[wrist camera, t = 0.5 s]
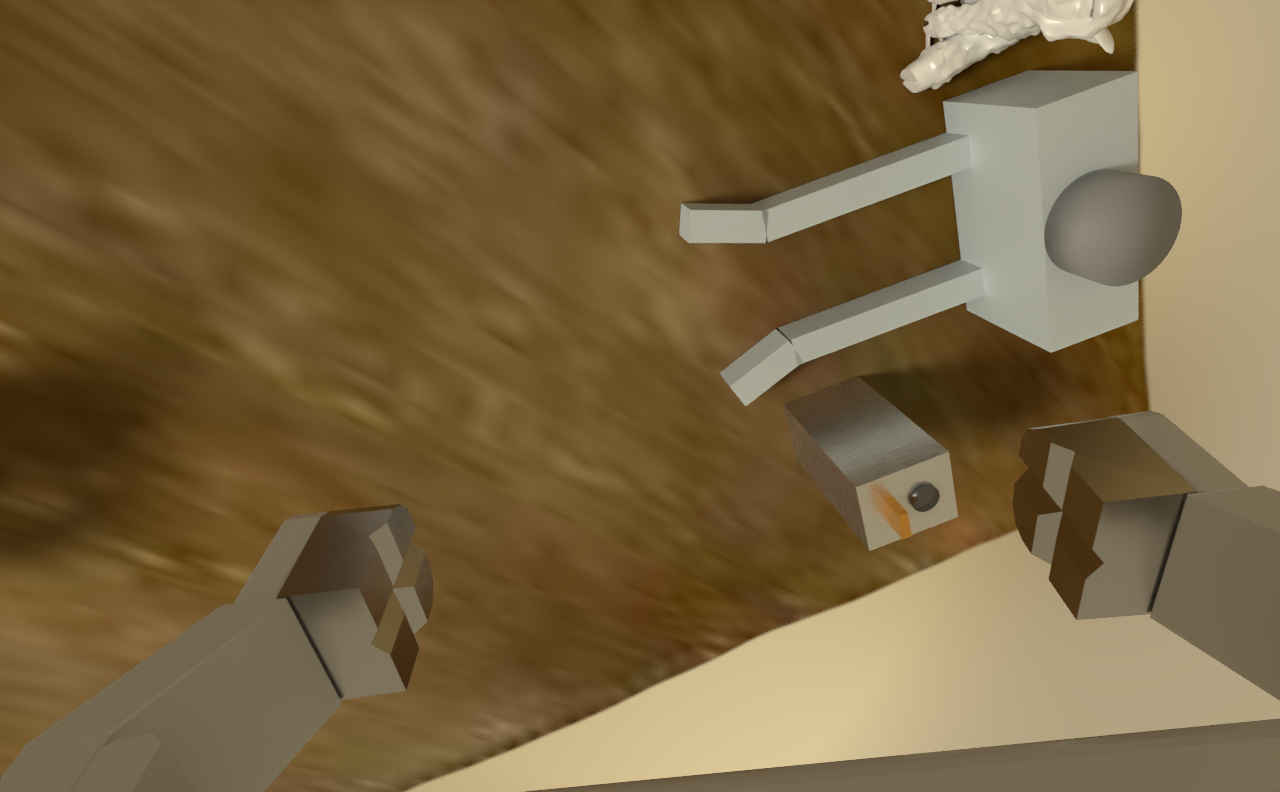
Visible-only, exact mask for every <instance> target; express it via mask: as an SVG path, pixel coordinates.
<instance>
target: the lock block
mask: <svg viewBox="0 0 1280 792" xmlns="http://www.w3.org/2000/svg"><path fill="white" fill-rule="evenodd" d="M783 407H784V410H785V414H786V418H787V422H788V426H789V430H790V434H791V438H792V442H793V446H794V450H795V454H796V458H797V460H798V461H799V462H800V464H801V465H802V466H803V468H804V469H805V470H806V471H807V473H808V474H809V475H810V476H811V478H812V479H813V480H814V481H815V483H816V484H817V485H818V487H819V488H820V489H821V490H822V492H823V493H824V494H825V495H826V497H827V498H828V499H829V500H830V502H831V503H832V504H833V506H834V507H835V508H836V509H837V511H838V512H839V513H840V514H841V516H842V517H843V518H844V519H845V521H846V522H847V523H848V525H849V526H850V527H851V528H852V530H853V531H854V532H855V533H856V535H857V536H858V537H859V538H860V540H861V541H862V542H863V544H864V545H865V546H866V547H867V549H868V550H869V551H871V550H873V549H876V548H878V547H881V546H884V545H886V544H889V543H891V542H894V541H897V540H899V539H905V538H908V537H910V536H912V534H915V533H917V532H920V531H922V530H925V529H928V528H930V527H933V526H935V525H938V524H940V523H943V522H946V521H948V520H951V519H953V518H956V517H958V514H957V507H956V499H955V492H954V485H953V478H952V471H951V464H950V457H949V452H948V451H947V450H946V449H945V448H944V447H942V446H941V445H940V444H939V443H938V442H936V441H935V440H934V439H933V438H932V437H930V436H929V435H928V434H927V433H926V432H924V431H923V430H922V429H921V428H920V427H918V426H917V425H916V424H915V423H914V422H912V421H911V420H910V419H909V418H908V417H907V416H905V415H904V414H903V413H902V412H901V411H899V410H898V409H897V408H896V407H895V406H893V405H892V404H891V403H890V402H889V401H887V400H886V399H885V398H884V397H883V396H881V395H880V394H879V393H878V392H877V391H875V390H874V389H873V388H872V387H871V386H869V385H868V384H867V383H866V382H865V381H863V380H862V379H861V378H860V377H859V376H857V377H854V378H851V379H849V380H846V381H843V382H841V383H838V384H836V385H833V386H830V387H828V388H825V389H822V390H820V391H817V392H814V393H812V394H809V395H806V396H804V397H801V398H798V399H796V400H793V401H790V402H788V403H785V404H783Z"/></svg>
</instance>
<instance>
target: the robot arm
mask: <svg viewBox="0 0 1280 792" xmlns="http://www.w3.org/2000/svg"><path fill="white" fill-rule="evenodd" d="M1019 456H1020V458H1021V459H1022V460H1023V461H1024V463H1025V464H1026V465H1027V467H1028V470H1027V471H1026V472H1025V473H1024V474H1023V475H1022V476H1021V477H1020V478H1019V479H1018V480H1017V481H1016V482H1015V485H1014V495H1013V510H1014V516H1015V522H1016V526H1017V528H1018V531H1019V533H1020V535H1021V538H1022V540H1023V542H1024V543H1025V545H1026V546H1027V548H1028V549H1029V551H1030V552H1031V554H1033V555H1035V556H1036V557H1038V558H1040V559H1042V560H1044V561H1046V562H1048V563H1049V564H1051V570H1050V575H1049V581H1050V582H1051V583H1052V585H1053V586H1054V588H1055V589H1056V591H1057V592H1058V594H1059V595H1060V597H1061V598H1062V599H1063V601H1064V602H1065V604H1066V605H1067V607H1068V608H1069V610H1070V611H1071V613H1072V614H1073V615H1074V617H1075V618H1076V620H1081V619H1093V618H1106V617H1117V616H1131V615H1142V614H1151V616H1150V617H1151V618H1152V619H1154V620H1155V621H1157V622H1158V623H1160V624H1162V625H1163V626H1165V627H1166V628H1168V629H1169V630H1171V631H1172V632H1174V633H1175V634H1177V635H1179V636H1180V637H1182V638H1183V639H1185V640H1187V641H1188V642H1189V643H1191V644H1193V645H1194V646H1196V647H1197V648H1199V649H1200V650H1202V651H1203V652H1205V653H1207V654H1208V655H1210V656H1211V657H1213V658H1214V659H1216V660H1218V661H1219V662H1221V663H1222V664H1224V665H1225V666H1227V667H1228V668H1230V669H1231V670H1233V671H1235V672H1236V673H1238V674H1239V675H1241V676H1242V677H1244V678H1245V679H1247V680H1249V681H1250V682H1252V683H1253V684H1255V685H1257V686H1258V687H1260V688H1261V689H1263V690H1264V691H1266V692H1267V693H1269V694H1271V695H1272V696H1273V697H1275V698H1277V699H1278V700H1280V492H1279V491H1277V490H1274V489H1271V488H1268V487H1265V486H1256V487H1248V486H1247V485H1246V484H1245V483H1243V482H1242V481H1241V480H1240V479H1239V478H1237V477H1236V476H1235V475H1234V474H1233V473H1232V472H1230V471H1229V470H1228V469H1227V468H1226V467H1224V466H1223V465H1222V464H1221V463H1220V462H1219V461H1217V460H1216V459H1215V458H1214V457H1213V456H1211V455H1210V454H1209V453H1208V452H1207V451H1206V450H1204V449H1203V448H1202V447H1201V446H1200V445H1198V444H1197V443H1196V442H1195V441H1194V440H1192V439H1191V438H1190V437H1189V436H1188V435H1186V434H1185V433H1184V432H1183V431H1182V430H1181V429H1179V428H1178V427H1177V426H1176V425H1175V424H1173V423H1172V422H1171V421H1170V420H1169V419H1168V418H1166V417H1165V416H1164V415H1162V414H1160V413H1156V412H1153V411H1146V412H1139V413H1133V414H1126V415H1119V416H1113V417H1109V418H1108V419H1100V420H1092V421H1084V422H1077V423H1069V424H1061V425H1053V426H1045V427H1037V428H1029V429H1027V430H1026V432H1025V434H1024V436H1023V438H1022V440H1021V446H1020V452H1019ZM415 528H416V527H415V525H414V523H413V520H412V518H411V516H410V513H409V511H408V509H407V508H405V507H403V506H402V505H400V504H398V505H388V506H377V507H367V508H357V509H347V510H337V511H330V512H320V513H311V514H303V515H294V516H292V517H290V518H288V519H286V520H285V521H284V522H283V524H282V525H281V527H280V529H279V530H278V532H277V534H276V535H275V537H274V538H273V540H272V542H271V543H270V545H269V546H268V548H267V550H266V551H265V553H264V555H263V556H262V558H261V559H260V561H259V563H258V564H257V566H256V568H255V569H254V571H253V572H252V574H251V576H250V577H249V579H248V580H247V582H246V584H245V585H244V587H243V589H242V590H241V592H240V593H239V595H238V597H237V598H236V600H235V601H234V603H233V604H229V605H221V606H220V607H218V608H217V609H215V610H214V611H213V612H211V613H210V614H208V615H207V616H206V617H204V618H203V619H201V620H200V621H199V622H197V623H196V624H194V625H193V626H192V627H190V628H189V629H187V630H186V631H185V632H183V633H182V634H180V635H179V636H178V637H176V638H175V639H173V640H172V641H170V642H169V643H168V644H166V645H165V646H163V647H162V648H161V649H159V650H158V651H156V652H155V653H154V654H152V655H151V656H149V657H148V658H147V659H145V660H144V661H142V662H141V663H140V664H138V665H137V666H135V667H134V668H132V669H131V670H130V671H128V672H127V673H125V674H124V675H123V676H121V677H120V678H118V679H117V680H116V681H114V682H113V683H111V684H110V685H109V686H107V687H106V688H104V689H103V690H102V691H100V692H99V693H97V694H96V695H95V696H93V697H92V698H90V699H89V700H87V701H86V702H85V703H83V704H82V705H80V706H79V707H78V708H76V709H75V710H73V711H72V712H71V713H69V714H68V715H66V716H65V717H64V718H62V719H61V720H59V721H58V722H57V723H55V724H54V725H52V726H51V727H50V728H48V729H47V730H45V731H44V732H42V733H41V734H40V735H38V736H37V737H35V738H34V739H33V740H31V741H30V742H28V743H27V744H26V746H25V747H24V748H23V749H22V751H21V752H20V753H19V755H18V756H17V757H16V759H15V760H14V761H13V762H12V764H11V765H10V766H9V768H8V769H7V770H6V772H5V773H4V774H3V775H2V777H1V778H0V792H264V791H265V790H266V789H267V788H268V786H269V785H270V784H271V783H272V782H273V781H274V780H275V779H276V777H277V776H278V775H279V774H280V773H281V772H282V771H283V769H284V768H285V767H286V766H287V765H288V764H289V763H290V762H291V760H292V759H293V758H294V757H295V756H296V755H297V754H298V753H299V751H300V750H301V749H302V748H303V747H304V746H305V745H306V743H307V742H308V741H309V740H310V739H311V738H312V737H313V736H314V734H315V733H316V732H317V731H318V730H319V729H320V728H321V726H322V725H323V724H324V723H325V722H326V721H327V720H328V719H329V717H330V716H331V715H332V714H333V713H334V712H335V711H336V709H337V708H338V707H339V706H340V705H341V704H342V701H341V700H342V699H350V698H357V697H365V696H372V695H379V694H387V693H394V692H402V691H406V690H407V687H408V684H409V681H410V677H411V674H412V671H413V668H414V664H415V661H416V658H417V655H418V652H419V646H418V644H417V641H416V639H415V636H414V634H415V633H416V632H417V631H418V630H419V629H420V628H421V627H422V626H423V625H424V624H425V623H426V622H427V621H428V618H429V615H430V611H431V607H432V602H433V578H432V573H431V567H430V564H429V561H428V559H427V556H426V553H425V552H424V551H422V550H421V549H420V548H418V547H417V546H415V545H414V544H413V543H411V539H412V536H413V533H414V531H415ZM528 792H1280V719H1271V720H1261V721H1251V722H1240V723H1230V724H1220V725H1210V726H1199V727H1188V728H1178V729H1168V730H1157V731H1147V732H1137V733H1126V734H1116V735H1106V736H1097V737H1096V736H1095V737H1086V738H1075V739H1064V740H1054V741H1045V742H1044V741H1043V742H1033V743H1023V744H1012V745H1003V746H992V747H982V748H971V749H961V750H951V751H941V752H930V753H919V754H909V755H899V756H888V757H878V758H868V759H857V760H847V761H836V762H827V763H816V764H807V765H806V764H805V765H795V766H785V767H775V768H764V769H754V770H744V771H734V772H724V773H713V774H703V775H692V776H682V777H671V778H661V779H651V780H640V781H630V782H620V783H609V784H599V785H589V786H579V787H568V788H558V789H547V790H537V791H528Z"/></svg>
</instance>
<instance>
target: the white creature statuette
mask: <svg viewBox="0 0 1280 792" xmlns="http://www.w3.org/2000/svg"><path fill="white" fill-rule="evenodd" d="M927 1H928V2H930V3H932V12H931V13H930V14H928V15H927V16H926V17H925V20H924V21H928V22H929V24H928V25H927V26H925V27H923V28H924V32H925V33H926V49H925V50H923V51H922V52H921V54H920V56H919V58H918V59H917V60H915V61H914V62H912V63H910V64H909V65H908V66H907V67H906V68H905V69H904V70H903V71H902V72H901V75H900V77H901V78H902V79H904V80H905V81H904V82H903V84H904V86H906V88H907V89H909V90H910V91H911V92H913V93H917V92H922V91H924V90H926V89H928V88H930V87H931V88H932V89H937V88H939V87H940V86H942V85H943V84H944V83H945V82H949V81H950V80H951V79H952V77H953V76H955V75H956V74H958V73H960V72H961V71H962V70H963V69H967V68H968V67H969V66H970V65H971V64H973V63H975V62H978V61H981V60H983V59H984V58H985V57H986V56H987V55H988V54H989V53H995V54H999V53H1000V52H1001V51H1003V50H1005V49H1007V48H1008V47H1009V46H1011V45H1014V44H1016V43H1017V42H1018V41H1019V40H1020V39H1021V38H1023V39H1025V38H1026V37H1028V36H1029V35H1034V36H1036V35H1037V34H1039V33H1040V32H1041V31H1042V33H1043V35H1044V37H1045V38H1046V39H1047V40H1048V41H1050V42H1052V41H1055V40H1059V39H1066V38H1073V39H1077V38H1079V39H1083V40H1087V41H1089V42H1093V43H1097V44H1100V45H1101V46H1102V48H1103V49H1104V50H1105V51H1106V52H1108V53H1110V54H1112V53H1113V51H1114V41H1113V38H1112V35H1111V33H1110V32H1109V30H1108V29H1107V26H1109V25H1112V24H1114V23H1116V22H1119V21H1120V20H1122V18H1123V17H1124V16H1125V14H1126V13H1127V12H1128V11H1129V10H1130V7H1131V4H1132V3H1133V2H1134V0H961V1H960V3H961V5H962V6H960V7H955V6H954V5H949V6H947V7H946V6H943V7H941V8H938V9H937V10H936V7H937V4H939V5H941V4H944V3H947V2H952V1H957V0H927ZM930 37H932V38H939V41H940V42H937V43H935V44H934V45H932V46H930ZM946 37H947V38H946ZM943 38H946V39H945V40H943Z"/></svg>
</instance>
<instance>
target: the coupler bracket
mask: <svg viewBox="0 0 1280 792" xmlns="http://www.w3.org/2000/svg"><path fill="white" fill-rule="evenodd" d="M943 106H944V115H945V123H946V133H944V134H941V135H938V136H936V137H933V138H930V139H927V140H925V141H922V142H919V143H916V144H914V145H911V146H908V147H905V148H903V149H900V150H897V151H894V152H892V153H889V154H886V155H883V156H881V157H878V158H875V159H873V160H870V161H867V162H864V163H862V164H859V165H856V166H853V167H851V168H848V169H845V170H842V171H840V172H837V173H834V174H831V175H829V176H826V177H823V178H820V179H818V180H815V181H812V182H810V183H807V184H804V185H801V186H799V187H796V188H793V189H790V190H788V191H785V192H782V193H779V194H777V195H774V196H771V197H768V198H766V199H763V200H760V201H758V202H755V203H752V204H707V203H681V214H680V230H679V235H680V236H681V237H682V238H684V239H685V240H686V241H687V242H688V243H766V241H768V242H770V241H772V240H775V239H778V238H780V237H783V236H786V235H789V234H791V233H794V232H797V231H800V230H802V229H805V228H808V227H810V226H813V225H816V224H819V223H821V222H824V221H827V220H829V219H832V218H835V217H838V216H840V215H843V214H846V213H848V212H851V211H854V210H857V209H859V208H862V207H865V206H868V205H870V204H873V203H876V202H878V201H881V200H884V199H887V198H889V197H892V196H895V195H897V194H900V193H903V192H906V191H908V190H911V189H914V188H916V187H919V186H922V185H925V184H927V183H930V182H933V181H936V180H938V179H941V178H944V177H946V176H949V175H951V176H952V184H953V193H954V202H955V211H956V219H957V228H958V237H959V245H960V254H961V260H959V261H956V262H953V263H951V264H948V265H945V266H943V267H940V268H937V269H935V270H932V271H929V272H927V273H924V274H921V275H918V276H916V277H913V278H910V279H908V280H905V281H902V282H900V283H897V284H894V285H892V286H889V287H886V288H884V289H881V290H878V291H876V292H873V293H870V294H867V295H865V296H862V297H859V298H857V299H854V300H851V301H849V302H846V303H843V304H841V305H838V306H835V307H833V308H830V309H827V310H825V311H822V312H819V313H817V314H814V315H811V316H808V317H806V318H803V319H800V320H798V321H795V322H792V323H790V324H787V325H784V326H782V327H779V328H778V329H779V331H778V330H776V329H775V330H774V331H772V332H771V333H770V334H768V335H767V336H766V337H765V338H763V339H762V340H761V341H760V342H758V343H757V344H756V345H754V346H753V347H752V348H751V349H749V350H748V351H747V352H746V353H744V354H743V355H742V356H740V357H739V358H738V359H737V360H735V361H734V362H733V363H732V364H730V365H729V366H728V367H727V368H725V369H724V370H723V371H721V372H720V374H721V376H722V377H723V378H724V380H725V381H726V382H727V383H728V385H729V386H730V387H731V389H732V390H733V391H734V392H735V394H736V395H737V396H738V397H739V399H740V400H741V401H742V402H743V404H744V405H745V406H747V405H748V404H749V403H751V402H752V401H753V400H755V399H756V398H757V397H758V396H760V395H761V394H762V393H764V392H765V391H766V390H767V389H769V388H770V387H771V386H773V385H774V384H775V383H777V382H778V381H779V380H780V379H782V378H783V377H784V376H786V375H787V374H788V373H789V372H791V371H792V370H793V369H795V368H796V367H797V366H798V365H800V364H802V363H805V362H808V361H810V360H813V359H816V358H818V357H821V356H824V355H826V354H829V353H832V352H834V351H837V350H840V349H842V348H845V347H848V346H850V345H853V344H856V343H858V342H861V341H864V340H866V339H869V338H872V337H874V336H877V335H880V334H882V333H885V332H888V331H890V330H893V329H895V328H898V327H901V326H903V325H906V324H909V323H911V322H914V321H917V320H919V319H922V318H925V317H927V316H930V315H933V314H935V313H938V312H941V311H943V310H946V309H949V308H951V307H954V306H957V305H959V304H962V303H965V302H966V307H967V310H968V311H970V312H972V313H974V314H976V315H977V316H979V317H981V318H983V319H985V320H987V321H989V322H991V323H993V324H995V325H997V326H999V327H1001V328H1003V329H1005V330H1007V331H1009V332H1011V333H1013V334H1015V335H1017V336H1019V337H1021V338H1023V339H1025V340H1027V341H1029V342H1031V343H1033V344H1035V345H1037V346H1039V347H1041V348H1043V349H1045V350H1046V351H1048V352H1050V353H1052V352H1054V351H1057V350H1060V349H1062V348H1065V347H1068V346H1070V345H1073V344H1076V343H1078V342H1081V341H1083V340H1086V339H1089V338H1091V337H1094V336H1097V335H1099V334H1102V333H1104V332H1107V331H1110V330H1112V329H1115V328H1118V327H1120V326H1123V325H1126V324H1128V323H1131V322H1133V321H1136V320H1138V280H1140V279H1142V278H1143V277H1145V276H1146V275H1148V274H1149V273H1151V272H1152V271H1153V270H1154V269H1155V268H1156V267H1157V266H1158V265H1159V264H1160V263H1161V262H1162V261H1163V259H1164V258H1165V257H1166V256H1167V254H1168V253H1169V251H1170V249H1171V248H1172V246H1173V244H1174V242H1175V240H1176V238H1177V235H1178V232H1179V229H1180V224H1181V216H1182V209H1181V202H1180V199H1179V196H1178V194H1177V192H1176V190H1175V189H1174V187H1173V186H1172V185H1171V184H1170V183H1168V182H1167V181H1165V180H1164V179H1161V178H1159V177H1154V176H1148V175H1142V174H1138V71H1042V70H1028V71H1025V72H1022V73H1020V74H1017V75H1014V76H1011V77H1009V78H1006V79H1003V80H1000V81H998V82H995V83H992V84H989V85H987V86H984V87H981V88H978V89H976V90H973V91H970V92H967V93H965V94H962V95H959V96H956V97H954V98H951V99H948V100H945V101H943Z"/></svg>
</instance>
